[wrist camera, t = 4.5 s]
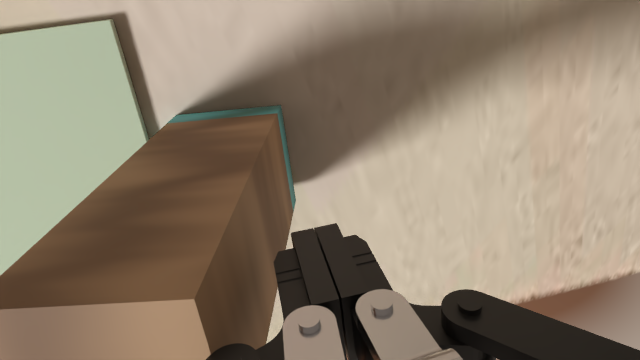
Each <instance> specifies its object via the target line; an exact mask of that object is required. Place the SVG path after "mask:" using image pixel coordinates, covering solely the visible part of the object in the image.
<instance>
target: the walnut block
mask: <svg viewBox="0 0 640 360" xmlns="http://www.w3.org/2000/svg"><path fill="white" fill-rule="evenodd" d="M295 201H296V198H295V192H294V186H293V179H292V173H291V166H290V160H289V153H288V147H287V141H286V134H285V128H284V121H283V115H282V108H281V105H277V106H267V107H256V108H246V109H235V110H224V111H214V112H203V113H193V114H182V115H176V116H175V117H174V118H173V119H171V120H170V121H169V122H168V123H167V124H166V125H165V126H164V127H163V128H162V129H161V130H159V131H158V132H157V133H156V134H155V135H154V136H153V137H152V138H151V139H150V140H148V141H147V142H146V143H145V144H144V145H143V146H142V147H141V148H140V149H139V150H137V151H136V152H135V153H134V154H133V155H132V156H131V157H130V158H129V159H128V160H127V161H125V162H124V163H123V164H122V165H121V166H120V167H119V168H118V169H117V170H116V171H114V172H113V173H112V174H111V175H110V176H109V177H108V178H107V179H106V180H105V181H104V182H102V183H101V184H100V185H99V186H98V187H97V188H96V189H95V190H94V191H93V192H91V193H90V194H89V195H88V196H87V197H86V198H85V199H84V200H83V201H82V202H80V203H79V204H78V205H77V206H76V207H75V208H74V209H73V210H72V211H71V212H70V213H68V214H67V215H66V216H65V217H64V218H63V219H62V220H61V221H60V222H59V223H57V224H56V225H55V226H54V227H53V228H52V229H51V230H50V231H49V232H48V233H47V234H45V235H44V236H43V237H42V238H41V239H40V240H39V241H38V242H37V243H36V244H34V245H33V246H32V247H31V248H30V249H29V250H28V251H27V252H26V253H25V254H23V255H22V256H21V257H20V258H19V259H18V260H17V261H16V262H15V263H14V264H13V265H11V266H10V267H9V268H8V269H7V270H6V271H5V272H4V273H3V274H2V275H0V360H206V359H207V358H208V357H209V356H210V355H211V354H212V353H213V352H214V351H216V350H217V349H219V348H221V347H223V346H226V345H229V344H234V343H242V344H247V345H249V346H251V347H253V348H254V349H255V350H256V349H258V348H260V347H262V346H264V345H265V344H266V341H267V336H268V331H269V326H270V321H271V317H272V312H273V307H274V302H275V297H276V293H277V288H278V284H277V279H276V274H275V268H274V263H273V262H274V260H275V258H276V256H277V253H278V251H283V250H285V249H286V245H287V240H288V235H289V230H290V225H291V221H292V216H293V211H294V206H295Z"/></svg>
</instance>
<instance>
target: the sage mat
mask: <svg viewBox="0 0 640 360" xmlns="http://www.w3.org/2000/svg"><path fill="white" fill-rule="evenodd" d="M148 140H149V138H148V134H147V131H146V128H145V124H144V121H143V118H142V114H141V111H140V108H139V105H138V101H137V98H136V95H135V91H134V88H133V85H132V81H131V78H130V75H129V71H128V68H127V65H126V61H125V58H124V55H123V51H122V48H121V45H120V41H119V38H118V35H117V31H116V28H115V25H114V22H113V19H108V20H100V21H93V22H85V23H78V24H70V25H63V26H55V27H48V28H40V29H33V30H25V31H18V32H10V33H3V34H0V275H2V274H3V273H4V272H5V271H6V270H7V269H8V268H9V267H10V266H11V265H13V264H14V263H15V262H16V261H17V260H18V259H19V258H20V257H21V256H22V255H23V254H25V253H26V252H27V251H28V250H29V249H30V248H31V247H32V246H33V245H34V244H36V243H37V242H38V241H39V240H40V239H41V238H42V237H43V236H44V235H45V234H47V233H48V232H49V231H50V230H51V229H52V228H53V227H54V226H55V225H56V224H57V223H59V222H60V221H61V220H62V219H63V218H64V217H65V216H66V215H67V214H68V213H70V212H71V211H72V210H73V209H74V208H75V207H76V206H77V205H78V204H79V203H80V202H82V201H83V200H84V199H85V198H86V197H87V196H88V195H89V194H90V193H91V192H93V191H94V190H95V189H96V188H97V187H98V186H99V185H100V184H101V183H102V182H104V181H105V180H106V179H107V178H108V177H109V176H110V175H111V174H112V173H113V172H114V171H116V170H117V169H118V168H119V167H120V166H121V165H122V164H123V163H124V162H125V161H127V160H128V159H129V158H130V157H131V156H132V155H133V154H134V153H135V152H136V151H137V150H139V149H140V148H141V147H142V146H143V145H144V144H145V143H146V142H147V141H148Z"/></svg>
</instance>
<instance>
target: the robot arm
mask: <svg viewBox="0 0 640 360" xmlns="http://www.w3.org/2000/svg"><path fill="white" fill-rule="evenodd" d="M291 237H292V242H293V248H292V249H288V250H283V251H278V253H277V256H276V258H275V260H274V262H273V263H274V268H275V274H276V279H277V284H278V290H279V295H280V301H281V306H282V312H283V318H284V322H283V326H282V329H281V330H280V332H279V333H278V335H277V336H276V337H275V338H274V339H273V340H271V341H270V342H269V343H267V344H265V345H264V346H262V347H260V348H258V349H256V350H255V349H254V348H253V347H251V346H249V345H247V344H242V343H234V344H229V345H226V346H223V347H221V348H219V349H217V350H216V351H214V352H213V353H212V354H211V355H210V356H209V357H208V358H207V359H206V360H347V358H346V354H347V357H348V360H496V358H497V359H499V360H640V351H639V350H637V349H634V348H631V347H629V346H626V345H623V344H620V343H617V342H615V341H612V340H610V339H607V338H604V337H601V336H598V335H596V334H593V333H591V332H588V331H585V330H582V329H580V328H577V327H574V326H571V325H569V324H566V323H563V322H560V321H558V320H555V319H552V318H550V317H547V316H544V315H542V314H539V313H536V312H533V311H531V310H528V309H525V308H522V307H520V306H517V305H514V304H512V303H509V302H506V301H503V300H501V299H498V298H495V297H492V296H490V295H487V294H484V293H482V292H478V291H474V290H457V291H454V292H451V293H449V294H448V295H446V296H445V297H444V299H443V301H442V304H441V306H421V305H414V304H411V303H408V301H407V300H406V299H405V298H404V297H403V296H402V295H401V294H399V293H398V292H395V291H393V290H392V288H391V286H390V284H389V282H388V281H387V279H386V277H385V275H384V273H383V271H382V270H381V268H380V266H379V264H378V262H376V259H375V257H374V255H373V254H372V251H371V250H370V248H369V246H368V244H367V242H366V241H364V240H363V239H361V238H359V237H358V236H356V235H352V236H347V237H343V236H342V234H341V232H340V229H339V227H338V225H337V224H336V223H335V224H330V225H326V226H321V227H316V228H314V229H313V228H312V229H307V230H303V231H298V232H293V233H291Z"/></svg>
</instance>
